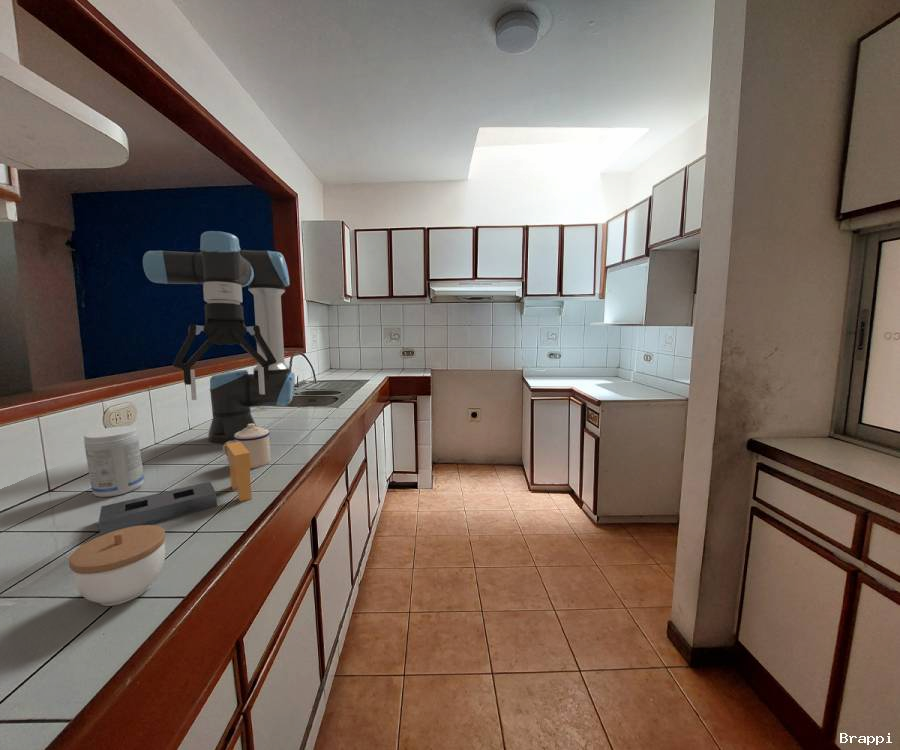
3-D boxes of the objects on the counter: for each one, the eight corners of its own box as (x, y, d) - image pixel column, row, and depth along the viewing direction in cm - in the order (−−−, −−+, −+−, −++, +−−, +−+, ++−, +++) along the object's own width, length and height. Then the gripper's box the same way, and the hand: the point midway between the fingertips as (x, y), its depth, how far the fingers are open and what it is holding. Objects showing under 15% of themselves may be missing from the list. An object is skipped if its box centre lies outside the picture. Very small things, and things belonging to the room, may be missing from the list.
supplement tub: (136, 478, 98) (129, 423, 96) (151, 486, 93) (144, 429, 91) (86, 492, 90) (77, 432, 88) (99, 502, 85) (90, 439, 83)
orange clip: (229, 486, 92) (226, 444, 91) (243, 483, 94) (239, 441, 93) (238, 502, 85) (234, 455, 83) (253, 498, 86) (249, 452, 85)
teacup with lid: (272, 456, 114) (270, 418, 112) (269, 466, 105) (267, 426, 104) (227, 461, 110) (224, 422, 108) (220, 472, 101) (217, 431, 99)
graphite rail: (103, 520, 77) (101, 506, 77) (211, 493, 89) (210, 481, 89) (100, 537, 71) (98, 522, 70) (217, 505, 83) (216, 492, 82)
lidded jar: (107, 573, 61) (100, 519, 59) (182, 563, 63) (176, 511, 62) (55, 625, 50) (44, 561, 49) (147, 611, 53) (139, 549, 51)
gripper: (153, 297, 74) (161, 403, 76) (286, 304, 89) (291, 393, 91) (154, 302, 80) (161, 400, 82) (278, 308, 95) (283, 390, 97)
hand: (229, 396), depth 86 cm, fingers open, 13 cm apart
